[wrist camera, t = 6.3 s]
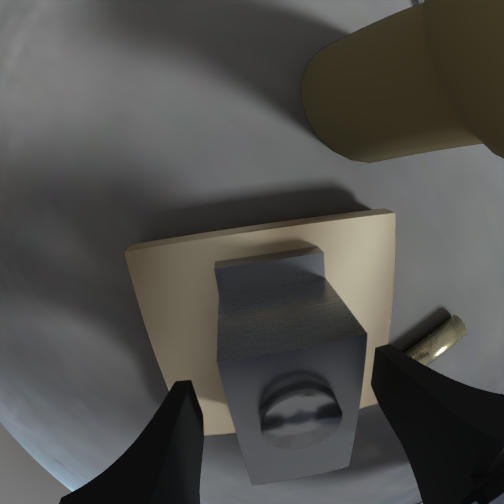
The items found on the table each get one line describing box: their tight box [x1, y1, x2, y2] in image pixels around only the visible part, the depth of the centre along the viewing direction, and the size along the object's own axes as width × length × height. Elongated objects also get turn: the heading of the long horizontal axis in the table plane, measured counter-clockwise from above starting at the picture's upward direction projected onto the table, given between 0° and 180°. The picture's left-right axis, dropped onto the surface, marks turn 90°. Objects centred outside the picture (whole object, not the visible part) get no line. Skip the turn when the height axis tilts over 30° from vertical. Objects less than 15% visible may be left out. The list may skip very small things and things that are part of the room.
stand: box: [124, 209, 395, 436], centre depth 14 cm, size 11×11×2 cm
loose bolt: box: [405, 315, 467, 366], centre depth 15 cm, size 6×3×3 cm, turn 122°
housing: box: [214, 246, 368, 485], centre depth 11 cm, size 9×4×5 cm, turn 7°
